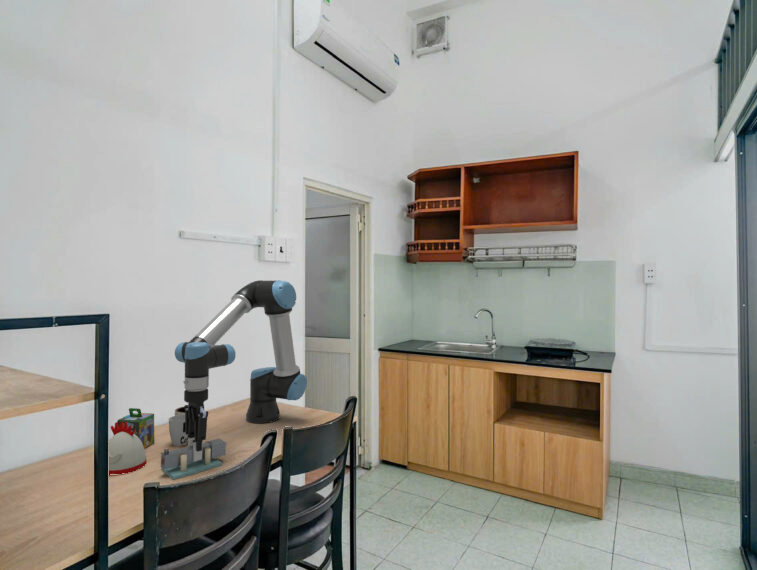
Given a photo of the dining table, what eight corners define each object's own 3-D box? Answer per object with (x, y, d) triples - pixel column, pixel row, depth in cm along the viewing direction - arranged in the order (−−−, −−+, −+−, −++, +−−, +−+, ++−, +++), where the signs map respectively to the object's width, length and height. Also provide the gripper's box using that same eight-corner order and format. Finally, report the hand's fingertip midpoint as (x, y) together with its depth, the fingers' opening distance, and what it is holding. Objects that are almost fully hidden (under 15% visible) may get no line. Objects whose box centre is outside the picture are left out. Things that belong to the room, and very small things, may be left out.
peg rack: (208, 457, 157) (208, 440, 157) (221, 465, 150) (222, 447, 150) (161, 470, 145) (161, 452, 145) (173, 479, 138) (173, 460, 138)
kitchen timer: (115, 457, 155) (116, 415, 155) (154, 459, 154) (155, 416, 154) (88, 474, 141) (89, 428, 141) (130, 476, 140) (131, 429, 140)
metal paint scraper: (218, 451, 157) (219, 435, 157) (225, 454, 153) (225, 438, 153) (159, 466, 142) (160, 448, 142) (165, 470, 139) (166, 452, 139)
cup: (182, 448, 164) (182, 421, 164) (163, 446, 166) (163, 420, 166) (195, 441, 172) (196, 415, 172) (177, 439, 174) (177, 413, 174)
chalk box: (155, 443, 169) (155, 404, 169) (139, 452, 160) (139, 411, 160) (132, 441, 170) (133, 403, 170) (115, 450, 161) (116, 410, 161)
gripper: (175, 386, 151) (174, 454, 151) (195, 395, 140) (194, 468, 140) (197, 383, 156) (195, 449, 156) (218, 391, 145) (216, 462, 145)
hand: (195, 458), depth 148 cm, fingers closed on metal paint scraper, 3 cm apart
